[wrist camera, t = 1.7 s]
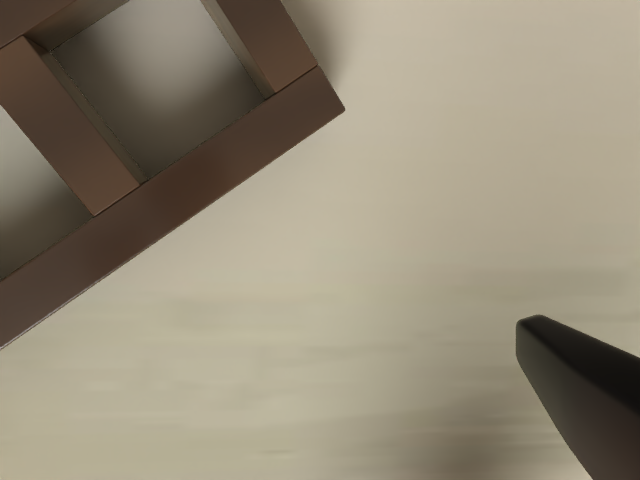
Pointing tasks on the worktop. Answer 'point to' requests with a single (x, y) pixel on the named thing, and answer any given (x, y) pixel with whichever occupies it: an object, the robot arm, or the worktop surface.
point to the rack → (115, 162)
